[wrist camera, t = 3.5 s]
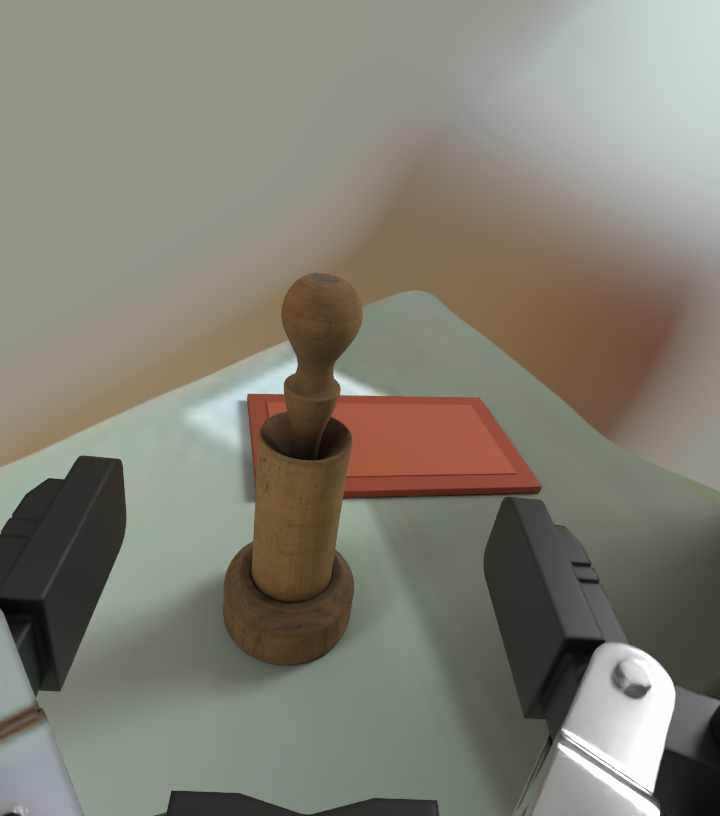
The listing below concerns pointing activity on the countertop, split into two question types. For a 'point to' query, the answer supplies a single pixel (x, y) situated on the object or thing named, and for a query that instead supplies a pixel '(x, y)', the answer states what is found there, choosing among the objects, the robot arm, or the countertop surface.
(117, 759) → the countertop surface
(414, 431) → the tray
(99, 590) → the robot arm
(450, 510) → the countertop surface
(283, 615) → the mortar and pestle
